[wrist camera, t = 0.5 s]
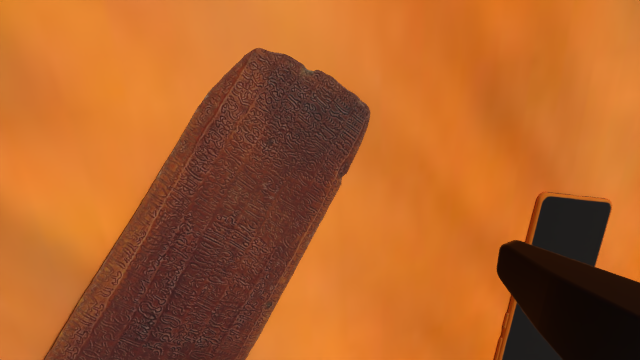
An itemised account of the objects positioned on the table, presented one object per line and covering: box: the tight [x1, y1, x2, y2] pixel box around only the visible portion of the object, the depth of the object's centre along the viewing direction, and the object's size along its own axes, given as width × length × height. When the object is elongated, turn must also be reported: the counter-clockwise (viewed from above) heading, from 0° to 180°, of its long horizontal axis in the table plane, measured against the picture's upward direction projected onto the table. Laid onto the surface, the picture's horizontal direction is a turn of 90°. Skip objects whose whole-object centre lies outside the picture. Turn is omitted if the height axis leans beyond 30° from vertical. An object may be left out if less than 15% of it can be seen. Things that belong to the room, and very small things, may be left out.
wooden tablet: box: [45, 48, 370, 360], centre depth 24 cm, size 27×10×2 cm, turn 146°
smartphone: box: [494, 192, 612, 360], centre depth 34 cm, size 8×17×1 cm, turn 170°
